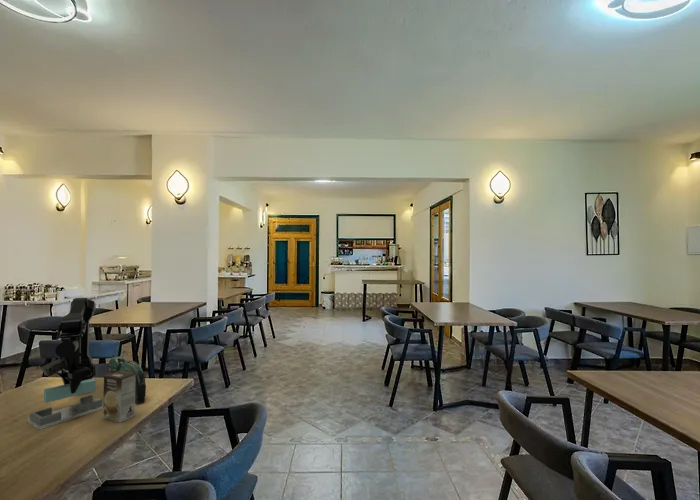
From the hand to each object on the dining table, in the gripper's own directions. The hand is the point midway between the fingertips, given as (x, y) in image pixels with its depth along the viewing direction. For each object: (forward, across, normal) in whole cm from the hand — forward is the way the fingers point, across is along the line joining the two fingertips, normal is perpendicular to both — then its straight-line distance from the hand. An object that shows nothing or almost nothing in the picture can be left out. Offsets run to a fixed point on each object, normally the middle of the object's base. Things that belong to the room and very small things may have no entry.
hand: (70, 392), depth 135 cm
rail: (+1, 0, 0) cm, 1 cm away
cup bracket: (+8, 0, 0) cm, 8 cm away
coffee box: (+8, +19, +8) cm, 22 cm away
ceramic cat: (+8, +4, +19) cm, 21 cm away
